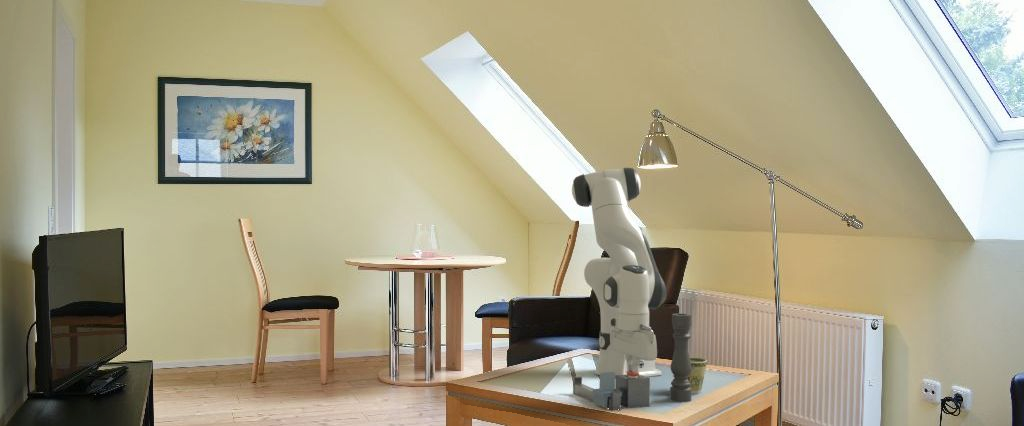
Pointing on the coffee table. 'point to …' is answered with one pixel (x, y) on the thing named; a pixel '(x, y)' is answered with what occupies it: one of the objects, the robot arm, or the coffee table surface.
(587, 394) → the rail
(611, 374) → the carriage
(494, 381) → the coffee table surface
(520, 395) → the coffee table surface
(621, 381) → the cabinet
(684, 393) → the candle holder
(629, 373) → the gauge button
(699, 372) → the ceramic cup
